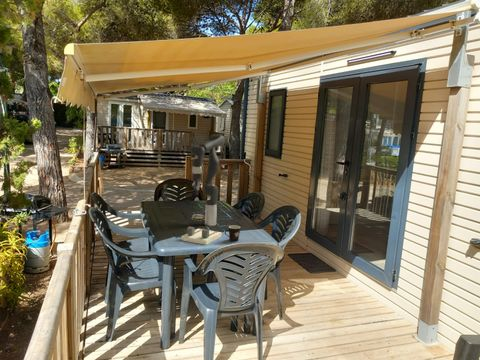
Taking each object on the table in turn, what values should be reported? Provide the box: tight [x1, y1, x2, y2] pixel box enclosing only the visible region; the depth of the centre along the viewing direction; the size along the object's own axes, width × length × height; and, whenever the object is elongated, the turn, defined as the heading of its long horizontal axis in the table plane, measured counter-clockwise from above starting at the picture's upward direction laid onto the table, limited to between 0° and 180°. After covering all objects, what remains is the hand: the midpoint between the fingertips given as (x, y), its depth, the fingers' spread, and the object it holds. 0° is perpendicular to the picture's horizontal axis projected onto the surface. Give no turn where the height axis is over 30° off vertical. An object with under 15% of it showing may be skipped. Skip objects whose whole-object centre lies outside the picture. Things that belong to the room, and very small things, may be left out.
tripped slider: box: [186, 226, 196, 235], centre depth 274 cm, size 4×4×5 cm
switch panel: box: [181, 228, 222, 245], centre depth 278 cm, size 24×20×3 cm
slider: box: [202, 228, 210, 238], centre depth 270 cm, size 4×4×5 cm
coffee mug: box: [224, 225, 241, 243], centre depth 276 cm, size 12×9×10 cm
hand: (196, 194), depth 291 cm, fingers closed
